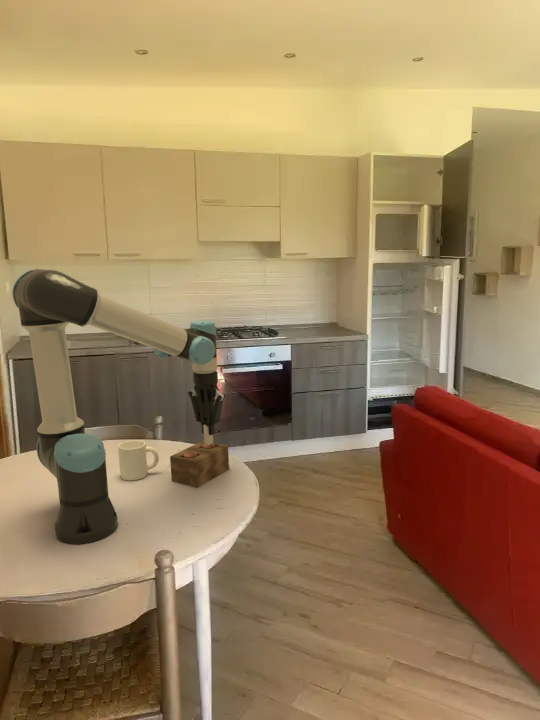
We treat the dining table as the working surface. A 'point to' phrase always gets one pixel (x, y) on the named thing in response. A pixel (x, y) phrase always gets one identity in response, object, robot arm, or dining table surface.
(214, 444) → the peg far
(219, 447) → the socket block
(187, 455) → the peg near
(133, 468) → the mug
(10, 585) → the dining table surface
